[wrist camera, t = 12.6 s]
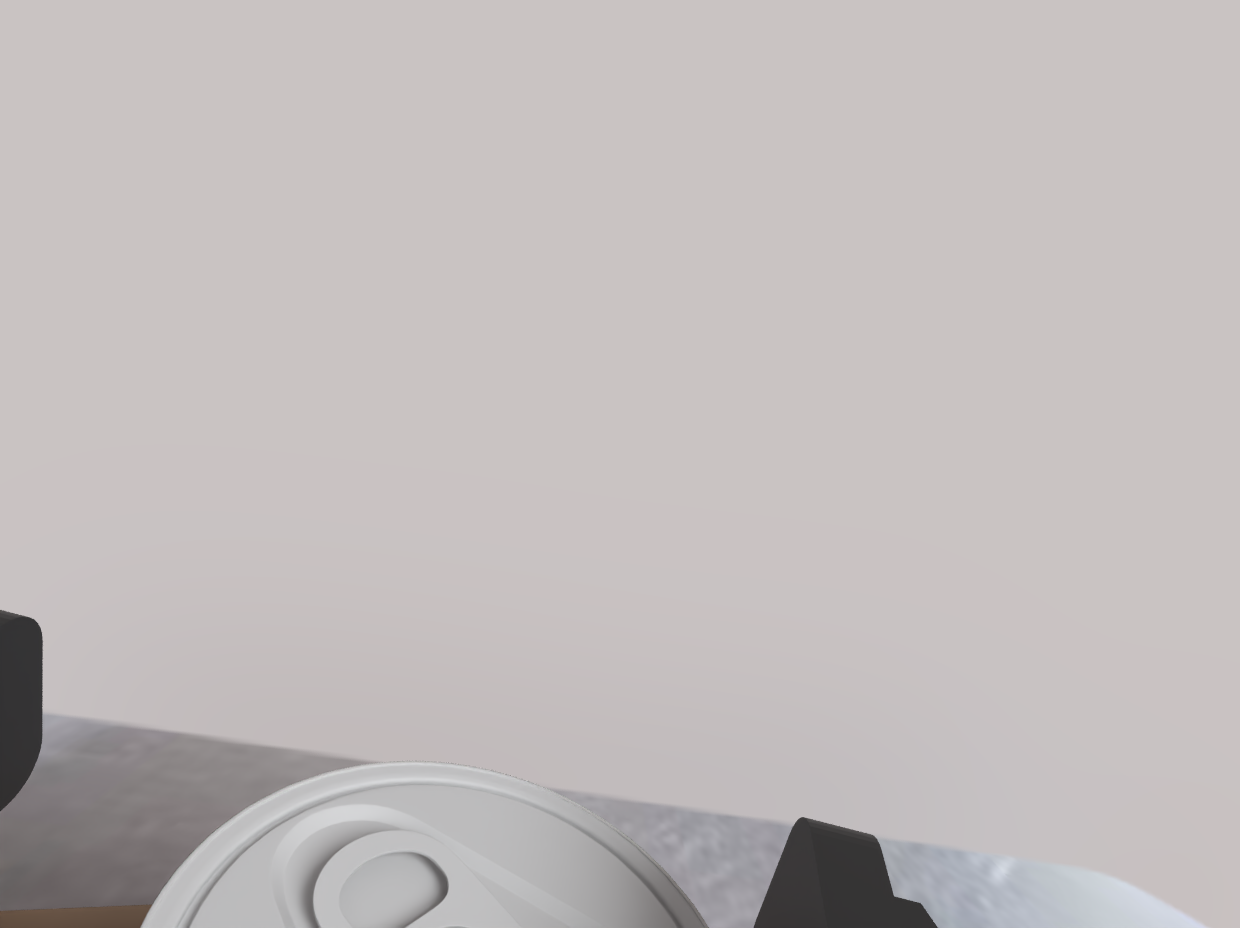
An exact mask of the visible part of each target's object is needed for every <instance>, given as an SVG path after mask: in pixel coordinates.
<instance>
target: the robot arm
mask: <svg viewBox="0 0 1240 928" xmlns="http://www.w3.org/2000/svg"><path fill="white" fill-rule="evenodd" d="M42 643H43V641H42V632H41V628H40V626H39V625H38V623H37V622H36V621H35V620H34V619H32V618H29V617H26V616H22V615H18V614H14V613H10V612H6V611H2V610H0V811H1V810H2V809H3V808H4V807H5V806H7V805H8V804H9V803H10V802H11V800H12V799H13V798H14V797H15V796H16V795H17V794H18V792H19V791H20V790H21V788H22V787H23V786H24V784H25V783H26V781H27V779H28V778H29V776H30V774H31V772H32V770H33V768H34V766H35V764H36V761H37V759H38V756H39V752H40V749H41V744H42V645H43V644H42ZM754 928H938V927H937V926H936V924H935V923H934V922H933V920H932V919H931V917H930V916H929V914H928V913H927V912H926V910H925V909H924V907H923V906H922V904H921V903H917V902H913V901H910V900H906V899H902V898H898V897H894V895H893V891H892V887H891V884H890V880H889V876H888V873H887V869H886V865H885V861H884V858H883V854H882V850H881V847H880V844H879V842H878V840H877V839H876V838H875V837H874V836H873V835H871V834H867V833H863V832H859V831H855V830H851V829H847V828H843V827H840V826H835V825H832V824H827V823H824V822H820V821H816V820H812V819H808V818H804V817H802V818H800V819H798V820H797V822H796V823H795V824H794V826H793V828H792V830H791V833H790V835H789V837H788V840H787V843H786V845H785V848H784V850H783V853H782V855H781V858H780V861H779V863H778V866H777V868H776V871H775V873H774V876H773V878H772V881H771V884H770V886H769V889H768V891H767V894H766V896H765V899H764V901H763V904H762V907H761V909H760V912H759V914H758V917H757V919H756V922H755V925H754Z"/></svg>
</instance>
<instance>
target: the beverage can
mask: <svg viewBox="0 0 1240 928" xmlns="http://www.w3.org/2000/svg"><path fill="white" fill-rule="evenodd" d="M140 928H709V927H708V926H707V924H706V923H705V921H704V919H703V918H702V916H701V915H700V913H699V912H698V910H697V909H696V907H695V906H694V904H693V903H692V902H691V901H690V899H689V898H688V897H687V896H686V894H685V893H684V892H683V891H682V890H681V888H680V887H679V886H678V885H677V884H676V882H675V881H674V880H673V879H672V878H671V877H670V875H669V874H668V873H667V872H666V871H665V870H664V869H663V868H662V867H661V866H660V865H659V864H658V863H657V862H656V861H655V860H654V859H653V858H652V857H651V856H650V855H648V854H647V853H646V852H645V851H644V850H643V849H642V848H641V847H640V846H639V845H638V844H636V843H635V842H634V841H633V840H632V839H630V838H629V837H628V836H626V835H625V834H624V833H622V832H621V831H620V830H618V829H617V828H615V827H614V826H612V825H611V824H610V823H608V822H607V821H605V820H604V819H602V818H601V817H599V816H598V815H596V814H594V813H593V812H591V811H589V810H588V809H586V808H585V807H583V806H581V805H579V804H577V803H575V802H573V801H572V800H570V799H568V798H566V797H564V796H562V795H560V794H557V793H555V792H553V791H551V790H549V789H546V788H544V787H541V786H539V785H536V784H534V783H531V782H529V781H526V780H523V779H520V778H517V777H514V776H511V775H507V774H503V773H500V772H496V771H492V770H488V769H483V768H478V767H473V766H467V765H460V764H454V763H443V762H430V761H397V762H381V763H371V764H364V765H358V766H353V767H348V768H343V769H338V770H334V771H330V772H326V773H323V774H320V775H317V776H314V777H311V778H308V779H305V780H302V781H299V782H297V783H294V784H291V785H289V786H287V787H284V788H282V789H280V790H278V791H276V792H274V793H272V794H270V795H269V796H267V797H265V798H263V799H261V800H259V801H257V802H255V803H254V804H252V805H250V806H248V807H247V808H245V809H244V810H242V811H241V812H239V813H238V814H237V815H235V816H234V817H232V818H231V819H230V820H228V821H227V822H226V823H224V824H223V825H222V826H220V827H219V828H218V829H216V830H215V831H214V832H213V833H212V834H211V835H209V836H208V837H207V838H206V839H205V840H204V841H203V842H202V843H201V844H200V845H199V846H198V847H197V848H196V849H195V850H194V851H193V852H192V853H191V854H190V855H189V857H188V858H187V859H186V860H185V861H184V862H183V863H182V864H181V865H180V867H179V868H178V869H177V870H176V871H175V873H174V874H173V875H172V877H171V878H170V879H169V881H168V882H167V883H166V885H165V886H164V887H163V889H162V890H161V892H160V893H159V895H158V896H157V898H156V900H155V901H154V903H153V905H152V906H151V908H150V910H149V911H148V913H147V915H146V917H145V919H144V921H143V923H142V925H141V927H140Z"/></svg>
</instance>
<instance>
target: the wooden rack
mask: <svg viewBox="0 0 1240 928" xmlns="http://www.w3.org/2000/svg"><path fill="white" fill-rule="evenodd" d="M151 906H152V905H132V906H109V907H85V908H62V909H38V910H14V911H0V928H140V927H141V925H142V923H143V921H144V919H145V917H146V915H147V913H148V911H149V910H150V908H151Z"/></svg>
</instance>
